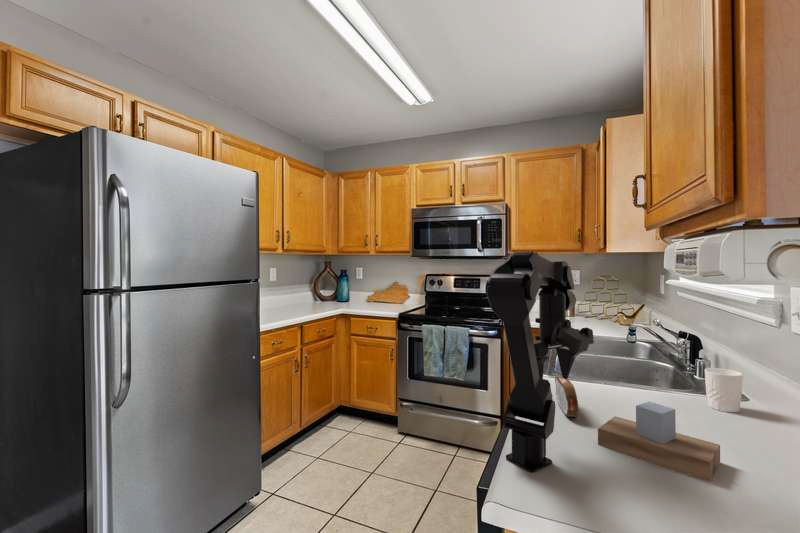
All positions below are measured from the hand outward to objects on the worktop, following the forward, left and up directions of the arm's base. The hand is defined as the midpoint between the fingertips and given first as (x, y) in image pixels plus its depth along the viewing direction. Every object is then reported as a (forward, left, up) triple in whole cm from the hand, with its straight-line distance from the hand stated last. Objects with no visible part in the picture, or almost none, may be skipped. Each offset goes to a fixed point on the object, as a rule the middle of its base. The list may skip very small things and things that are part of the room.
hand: (552, 381), depth 87 cm
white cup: (+53, -15, -12) cm, 56 cm away
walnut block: (+10, -17, -13) cm, 24 cm away
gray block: (+10, -17, -8) cm, 22 cm away
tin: (+15, +7, -12) cm, 20 cm away
